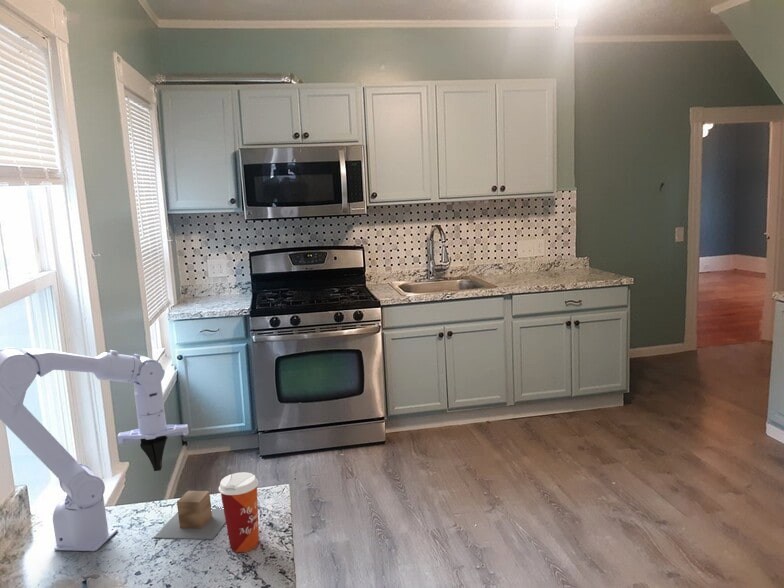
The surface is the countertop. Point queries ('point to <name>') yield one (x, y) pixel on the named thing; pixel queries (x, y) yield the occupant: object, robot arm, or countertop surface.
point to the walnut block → (194, 509)
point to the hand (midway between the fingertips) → (158, 469)
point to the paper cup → (241, 510)
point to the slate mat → (207, 532)
